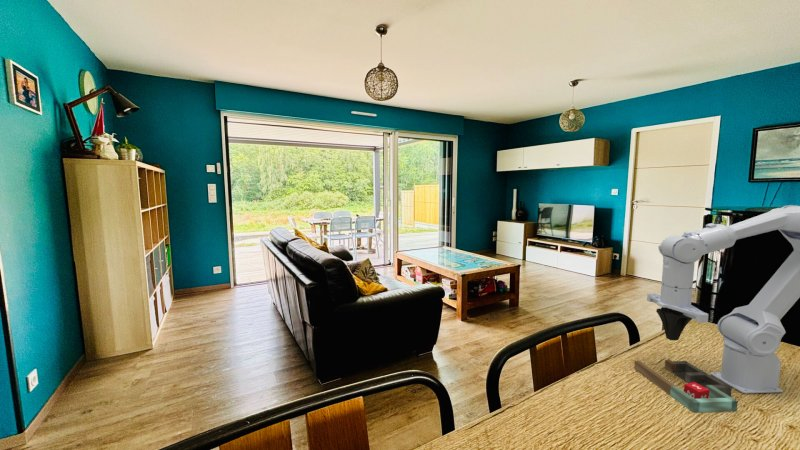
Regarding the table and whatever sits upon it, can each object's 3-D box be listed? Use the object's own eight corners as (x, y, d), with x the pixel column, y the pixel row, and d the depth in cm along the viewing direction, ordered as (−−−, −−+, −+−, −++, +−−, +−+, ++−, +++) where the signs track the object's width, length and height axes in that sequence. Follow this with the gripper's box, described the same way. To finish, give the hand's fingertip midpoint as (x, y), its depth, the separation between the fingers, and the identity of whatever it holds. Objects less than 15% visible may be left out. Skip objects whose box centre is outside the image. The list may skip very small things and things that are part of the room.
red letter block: (683, 396, 74) (684, 383, 73) (693, 394, 74) (694, 381, 74) (697, 404, 71) (699, 391, 70) (708, 402, 71) (709, 389, 71)
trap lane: (682, 367, 85) (683, 359, 85) (753, 410, 69) (754, 400, 68) (634, 368, 85) (634, 360, 85) (693, 412, 68) (694, 402, 68)
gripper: (637, 277, 86) (634, 327, 87) (689, 295, 71) (683, 354, 73) (663, 277, 86) (659, 326, 87) (719, 294, 71) (713, 353, 73)
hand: (672, 339), depth 80 cm, fingers closed
